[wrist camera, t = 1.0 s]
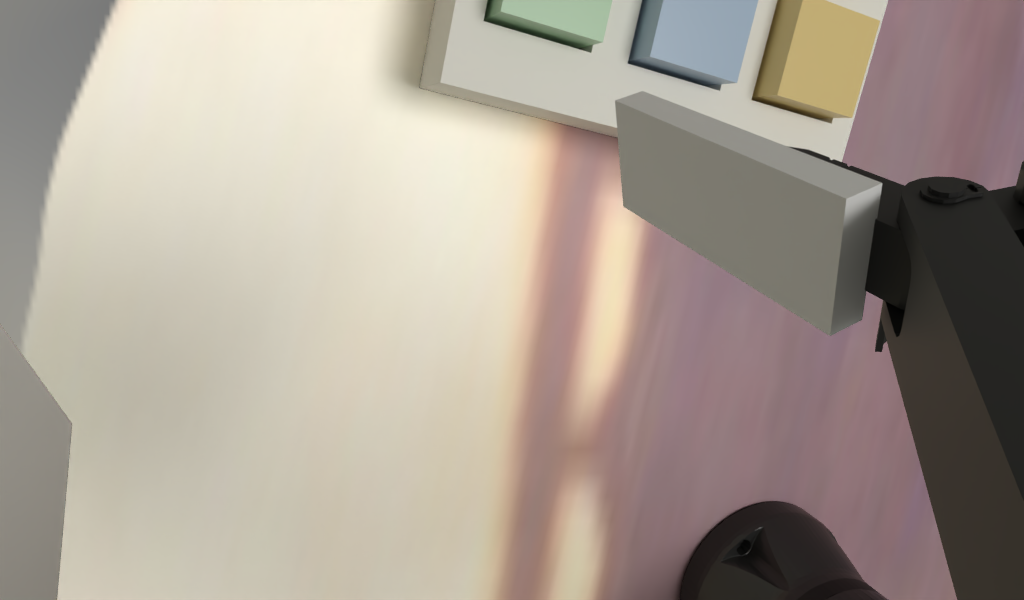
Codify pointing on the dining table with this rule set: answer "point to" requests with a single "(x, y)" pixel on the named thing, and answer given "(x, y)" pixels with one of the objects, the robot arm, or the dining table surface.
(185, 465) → the dining table surface
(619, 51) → the key panel
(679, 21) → the key blue
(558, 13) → the key sage
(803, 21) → the key ochre
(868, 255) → the robot arm
